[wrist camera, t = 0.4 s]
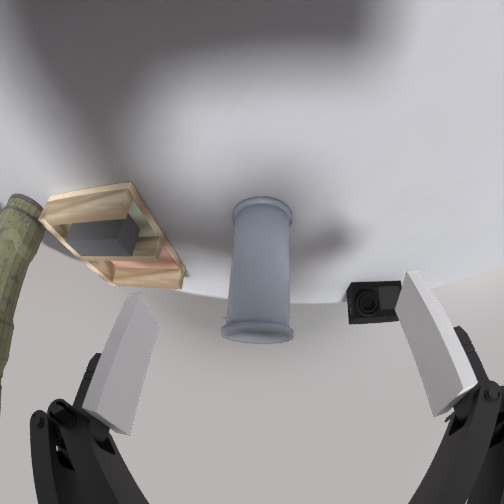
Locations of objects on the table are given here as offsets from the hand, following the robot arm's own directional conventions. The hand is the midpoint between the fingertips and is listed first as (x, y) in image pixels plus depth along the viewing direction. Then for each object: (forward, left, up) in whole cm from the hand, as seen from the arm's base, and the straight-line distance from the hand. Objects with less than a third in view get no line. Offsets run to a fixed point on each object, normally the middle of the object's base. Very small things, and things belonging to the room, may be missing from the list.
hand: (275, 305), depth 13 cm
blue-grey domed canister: (+13, -2, -15) cm, 20 cm away
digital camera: (+34, +18, -15) cm, 41 cm away
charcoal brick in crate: (+11, -22, -14) cm, 28 cm away
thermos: (+8, -39, -15) cm, 42 cm away
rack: (+16, -23, -15) cm, 32 cm away
